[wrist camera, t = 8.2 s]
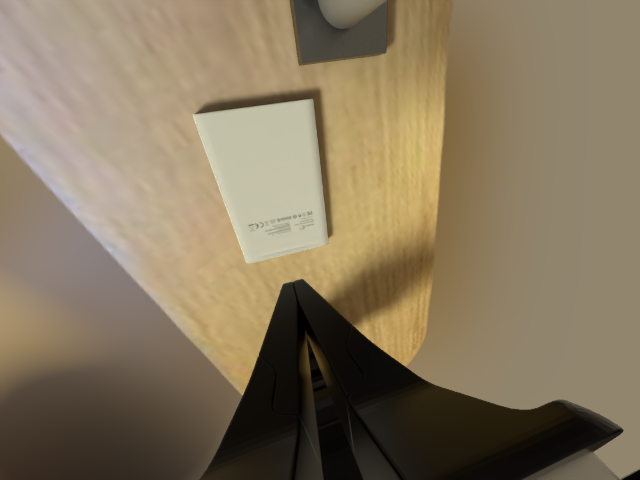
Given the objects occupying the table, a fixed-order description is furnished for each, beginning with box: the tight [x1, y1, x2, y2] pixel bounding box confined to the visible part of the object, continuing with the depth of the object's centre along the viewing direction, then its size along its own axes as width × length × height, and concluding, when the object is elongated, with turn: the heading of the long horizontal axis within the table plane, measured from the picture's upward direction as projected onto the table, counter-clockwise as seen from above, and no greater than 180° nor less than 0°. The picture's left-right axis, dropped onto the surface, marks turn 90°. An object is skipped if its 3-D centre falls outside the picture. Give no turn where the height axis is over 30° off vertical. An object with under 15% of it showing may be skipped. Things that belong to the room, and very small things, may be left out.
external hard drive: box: [193, 98, 328, 263], centre depth 19 cm, size 2×8×12 cm
